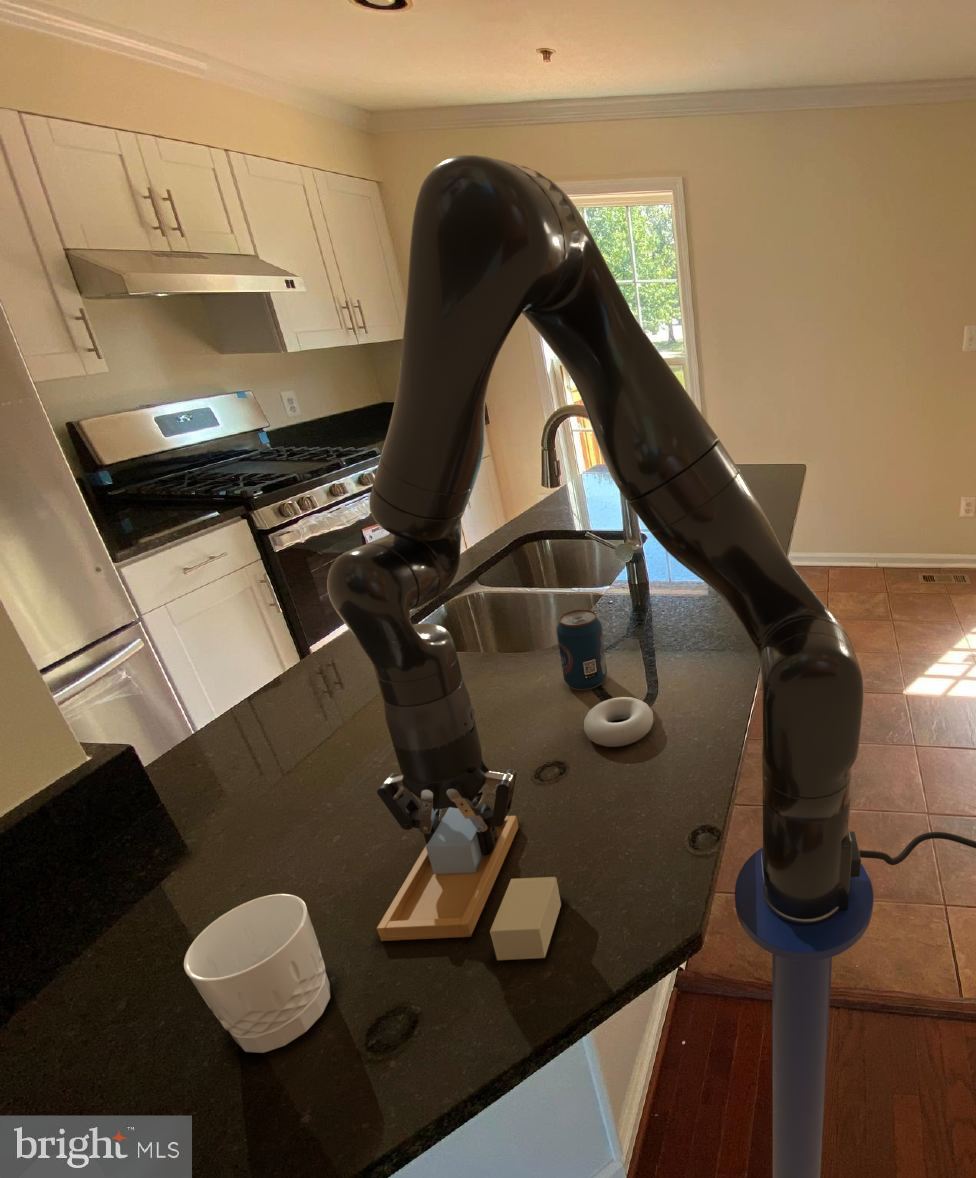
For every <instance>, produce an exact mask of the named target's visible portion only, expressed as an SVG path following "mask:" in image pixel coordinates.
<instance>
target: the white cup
mask: <svg viewBox="0 0 976 1178" xmlns="http://www.w3.org/2000/svg"><path fill="white" fill-rule="evenodd" d="M321 951H322V950H321V948H320V943H319V940H318V938H317V934H316V932H315V929H314V926H313V922H312V920H311V917H310V914H309V911H308V907H307V905H306V902H305V900H303V899H302V898H300V897H299V896H297V895H294V894H289V893H275V894H274V893H273V894H269V895H264V896H261V897H257V898H254V899H252V900H249V901H246V902H243V903H242V904H240V905H238V906H236V907H234V908H232V909H231V910H228V911H227V912H226V913H223V914H222V915H220V916H219V917H217V918H216V919H215V920H214V921H212V922H211V923H210V924H209V925H208V926H206V927H205V928H204V929H202V931H201V932H200V933H199V934H198V935H197V936H196V938H195V939H194V940H193V941H192V943H191V944H190V946H189V947H188V949H187V951H186V953H185V955H184V960H183V968H184V972H185V974H186V975H187V977H188V978H189V979H190V981H191V982H192V984H193V986H194V987H195V988H196V990H197V992H198V993H199V994H200V996H201V998H202V999H203V1001H204V1002H205V1004H206V1005H207V1006H208V1008H209V1010H211V1011H212V1013H213V1015H214V1016H215V1017H216V1019H217V1020H218V1021H219V1023H220V1024H221V1026H222V1027H223V1028H224V1030H225V1031H227V1032H229V1034H230V1035H231V1037H232V1038H233V1039H234V1041H235V1043H236V1045H238V1046H239V1047H240V1048H241V1049H242V1050H243V1051H244V1052H245V1053H258V1054H265V1053H267V1052H270V1051H273V1050H276V1049H279V1048H282V1047H285V1046H287V1045H288V1044H290V1043H291V1042H293V1041H295V1040H296V1039H297V1038H299V1037H301V1036H302V1035H304V1034H305V1033H306V1032H308V1031H309V1029H310V1028H312V1026H313V1025H314V1024H315V1023H316V1022H317V1021H318V1020H319V1019H320V1018H321V1017H322V1016H323V1014H324V1012H325V1010H326V1009H327V1008H326V1007H327V1006H328V1003H329V1002H330V1000H331V984H330V981H329V978H328V974H327V972H326V965H325V961H324V957H323V955H322V952H321Z"/></svg>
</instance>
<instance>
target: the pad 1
mask: <svg viewBox="0 0 976 1178" xmlns="http://www.w3.org/2000/svg"><path fill="white" fill-rule="evenodd" d="M441 819H442V821H441V822H440V824H439V826H438V827H437V829H436V831H435V832H434V834H433V836H432V837H431V839H430V841H429V842H428V844H426V845H427V846H426V845H425V846H426V849H427V852H428V856H429V859H430V863H431V866H432V870H433V873H434V874H454V873H476V872H477V870H478V868H479V865H480V863H481V861H482V859H483V857H484V855H482V854H481V849H480V845H479V841H478V837H477V833H476V832H477V829H476V827H475V826H474V824H473V823H472V821H471V820H470V819H469V818H468V819H466V818H465V817H464V816H463V814H462V813H461V811H460V810H459V808H451V807H448V808H447V810H446V812H445V814H444V816H443V817H442V818H441Z"/></svg>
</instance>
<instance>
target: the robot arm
mask: <svg viewBox="0 0 976 1178" xmlns="http://www.w3.org/2000/svg"><path fill="white" fill-rule="evenodd" d="M410 235H411V236H410V244H409V245H410V246H409V255H408V256H409V257H408V259H409V260H408V272H407V287H406V289H407V290H406V303H405V311H404V322H403V323H404V324H403V333H402V334H403V335H402V346H401V353H400V354H401V355H400V362H399V363H400V364H399V372H398V378H397V379H398V380H397V386H396V392H395V397H394V403H393V407H392V413H391V417H390V421H389V425H388V429H387V432H386V435H385V439H384V443H383V447H382V450H381V453H380V457H379V461H378V464H377V467H376V471H375V473H374V474H375V475H374V479H373V482H372V486H371V490H370V495H369V503H368V505H369V511H370V514H371V516H372V518H373V520H374V521H375V523H377V525H379V526H380V527H381V528H382V529H383V530H384V531H386V532H388V534H386V535H385V536H382V537H380V538H376V539H375V540H371V541H370V542H368V543H365V544H363V545H360V546H357V547H355V548H353V549H350V550H348V551H345V552H343V553H342V554H340V555H339V556H337V557H336V558H335V559H334V561H333V562H332V564H331V565H330V568H329V570H328V574H327V579H326V588H327V589H326V590H327V594H328V598H329V600H330V603H331V605H332V607H333V609H334V610H335V612H336V613H337V615H338V616H339V617H340V619H341V620H342V621H343V623H344V624H345V626H346V627H347V628H348V629H349V631H350V633H351V634H352V635H353V637H354V638H355V640H356V641H357V642H358V644H359V646H360V647H361V648H362V650H363V652H364V653H365V654H366V656H367V657H368V659H369V660H370V662H371V663H372V665H373V668H374V673H375V678H376V680H377V683H378V687H379V690H380V695H381V697H382V699H383V700H382V702H383V707H384V708H383V709H384V716H385V717H384V718H385V721H386V722H385V723H386V725H387V729H388V732H389V735H390V738H391V742H392V746H393V750H394V752H395V756H396V759H397V763H398V767H399V769H400V773H401V775H400V774H399V773H398V772H397V773H396V772H391V773H389V774H388V776H387V777H386V778H385V780H384V781H383V783H382V784H381V785H380V786H379V787H378V789H377V790H376V794H377V796H378V797H379V798H380V800H381V801H382V802H383V804H384V805H385V806H386V808H387V809H388V811H389V812H390V813H391V815H392V816H393V818H394V819H395V820H396V822H397V823H398V824H399V826H400V828H401V829H403V830H404V831H410V830H412V829H413V828H414V829H418V830H419V832H420V833H422V834H423V836H424V840H425V844H426V845H427V844H428V842H429V841H430V839H431V837H432V836H433V834H434V832H435V831H436V829H437V827H438V826H439V824H440V822H441V821H442V819H443V818H440V817H441V814H442V810H443V809H448V808H449V807H451V808H459V810H460V811H461V813H462V814H463V816H464V817H465V818H466V819H468V818H469V819H470V820H471V821H472V823H473V824H474V826H475V827H476V829H477V832H476V833H477V837H478V841H479V845H480V849H481V854H482V855H489V854H490V852H491V850H493V849H494V847H495V845H496V842H497V840H498V834H497V829H496V827H500V826H502V825H503V823H504V821H505V818H506V816H508V814H509V812H510V810H511V808H512V802H513V797H514V791H515V786H516V780H517V779H516V778H517V771H516V770H514V769H511V768H508V769H506V770H505V772H504V773H501V772H496V771H491V770H490V767H489V766H488V765H487V764H486V763H485V762H484V760H483V754H482V746H481V745H482V744H481V741H480V737H479V732H478V728H477V723H476V720H475V709H474V708H473V705H472V701H471V698H470V694H469V691H468V689H467V687H466V683H465V682H464V678H463V675H462V670H461V665H460V660H459V657H458V653H457V648H456V645H455V641H454V639H453V637H452V635H451V633H450V631H448V629H447V628H445V627H444V626H442V625H439V624H436V623H430V622H429V623H424V622H423V623H414V624H413V623H412V620H411V614H410V613H411V612H413V611H415V610H416V609H419V608H420V607H422V606H424V605H426V604H427V603H429V602H431V601H432V600H434V599H436V598H438V597H439V596H441V595H442V594H443V593H445V591H447V589H449V587H450V586H451V584H452V583H453V581H454V579H455V578H456V576H457V573H458V572H459V571H458V570H459V567H460V562H461V550H462V549H461V547H462V545H461V544H462V518H463V516H464V514H465V511H466V508H467V506H468V503H469V501H470V498H471V494H472V492H473V489H474V486H475V484H476V482H477V478H478V476H479V472H480V469H481V465H482V461H483V458H484V451H485V444H486V442H485V441H486V400H487V393H488V389H489V388H488V387H489V384H490V379H491V376H492V373H493V369H494V367H495V363H496V361H497V358H498V356H499V353H500V351H501V349H502V348H503V346H504V345H505V342H506V340H507V338H508V336H509V335H510V333H511V331H512V330H513V328H514V326H515V324H516V322H517V321H518V319H519V318H520V316H521V315H523V316H524V317H525V318H526V319H527V321H529V323H530V324H531V325H532V326H533V328H534V329H535V330H536V331H537V332H538V334H539V335H540V336H541V338H542V339H543V340H544V342H545V343H546V344H547V346H548V347H549V348H550V350H551V351H552V352H553V353H554V355H555V356H556V357H557V358H558V360H559V361H560V363H561V364H562V366H563V367H564V369H565V370H566V372H567V373H568V375H569V377H570V379H571V380H572V382H573V384H574V386H575V388H576V390H577V392H578V394H579V396H580V398H581V402H582V404H583V406H584V410H585V412H586V415H587V417H588V420H589V424H590V426H591V429H592V433H593V435H594V437H595V440H596V444H597V446H598V449H599V451H600V454H601V456H602V459H603V461H604V464H605V466H606V468H607V470H608V473H609V474H610V476H611V478H612V481H613V482H614V483H615V485H616V487H617V489H618V491H619V492H620V494H621V495H622V496H623V498H624V499H625V501H626V502H627V503H628V505H629V506H630V507H631V508H632V510H633V511H634V512H635V514H636V515H637V516H638V518H639V519H640V521H641V522H642V523H643V525H644V526H645V528H646V529H647V530H648V531H649V532H650V534H651V535H652V536H653V537H654V539H656V541H657V542H658V543H659V545H660V546H662V548H663V549H664V550H665V551H666V552H667V553H668V554H669V555H670V556H671V557H673V558H674V559H675V560H676V561H677V562H678V563H680V564H681V565H682V566H683V567H685V568H686V569H687V570H688V571H690V572H691V573H692V574H693V575H695V576H696V577H697V578H699V579H700V580H702V581H703V582H704V583H705V584H707V585H708V586H709V587H711V588H712V589H713V590H714V591H715V592H716V593H717V594H718V595H720V596H721V598H722V599H723V600H724V601H725V602H726V603H727V605H728V606H729V607H730V609H731V610H732V612H733V613H734V615H735V616H736V618H737V619H738V621H739V622H740V624H741V626H742V627H743V629H744V630H745V632H746V634H747V635H748V638H749V639H750V642H751V643H752V645H753V646H754V648H755V651H756V653H757V655H758V658H759V661H760V673H761V685H762V686H761V689H762V690H761V691H762V692H761V693H762V697H761V698H762V700H761V701H762V748H761V749H762V750H761V769H762V771H761V772H762V773H761V774H762V775H761V776H762V847H763V863H762V871H763V883H762V890H763V897H764V900H765V902H766V904H767V906H768V908H769V909H770V910H771V911H772V912H773V913H774V914H775V915H776V916H777V917H779V918H780V919H782V920H784V921H786V922H789V923H792V924H796V925H815V924H819V923H822V922H825V921H827V920H828V919H830V918H832V917H833V916H834V915H835V914H836V913H837V912H839V911H847V910H848V905H849V890H850V877H860V868H861V864H862V859H878V860H883V861H884V862H885V863H886V864H888V865H889V866H896V865H898V864H899V865H900V863H902V862H903V861H905V860H906V859H907V858H908V856H909V855H910V854H911V853H912V852H913V850H914V849H915V848H916V847H917V846H918V845H919V844H921V843H922V842H925V841H927V840H934V839H935V840H936V839H939V840H945V841H946V840H948V841H951V842H955V843H958V844H962V845H964V846H967V847H970V848H973V849H976V841H975V840H972V839H969V838H967V837H964V836H961V835H958V834H954V833H949V832H943V831H931V832H925V833H921V834H920V835H919V834H918V835H917V836H916V837H914V838H913V839H912V840H911V841H910V842H909V843H908V844H907V845H906V846H905V848H903V850H902V851H901V852H900V853H899V854H898V855H897V856H894V857H891V855H890V854H888V853H886V852H882V851H877V850H863V849H859V845H858V840H857V835H856V832H855V831H854V830H853V831H850V818H851V817H850V815H851V802H852V801H851V798H852V784H853V783H852V782H853V772H854V771H853V770H854V764H855V763H856V761H857V758H858V755H859V751H860V750H859V749H860V743H861V742H860V741H861V732H862V722H863V721H862V720H863V711H864V698H865V697H864V695H865V691H864V690H865V689H864V688H865V686H864V677H863V673H862V669H861V666H860V664H859V660H858V658H857V655H856V651H855V649H854V646H853V644H852V643H853V642H852V640H851V638H850V636H849V634H848V632H847V631H846V629H845V628H844V626H843V625H842V624H841V622H840V621H839V620H838V619H837V618H836V616H835V615H834V614H833V613H832V612H831V611H830V609H829V608H828V607H827V606H826V605H825V604H824V603H823V601H822V600H821V599H820V598H819V596H818V595H817V593H816V592H815V591H814V590H813V589H812V588H811V586H810V585H809V584H808V583H807V582H806V581H805V579H804V578H803V576H801V574H800V573H799V572H798V570H797V569H796V568H795V566H794V565H793V563H792V562H791V560H790V558H789V557H788V556H787V554H786V552H785V550H784V549H783V547H782V545H781V543H780V541H779V539H778V537H777V535H776V533H775V531H774V529H773V527H772V525H771V523H770V521H769V520H768V518H767V516H766V514H765V512H764V510H763V509H762V507H761V505H760V503H759V501H758V500H757V498H756V496H755V494H754V493H753V491H752V490H751V488H750V486H749V484H748V483H747V481H746V479H745V477H744V475H743V474H742V472H741V471H740V469H739V467H738V466H737V464H736V463H735V461H734V460H733V458H732V457H731V455H730V453H729V451H728V450H727V449H726V448H725V446H724V444H723V442H721V441H722V440H720V438H719V437H718V435H717V433H716V432H715V430H713V428H712V427H711V425H710V424H709V423H708V422H707V420H706V419H705V417H704V416H703V415H702V413H701V411H700V410H699V408H698V406H697V405H696V404H695V402H694V401H693V399H692V398H691V396H690V394H689V393H688V391H687V390H686V388H685V387H684V386H683V384H682V383H681V382H680V380H679V379H678V377H677V376H676V374H675V373H674V372H673V370H672V368H671V367H670V365H669V364H668V363H667V361H666V360H665V358H664V357H663V356H662V355H661V352H659V351H658V349H657V348H656V347H655V345H654V343H653V342H652V341H651V339H650V338H649V337H648V335H647V334H646V332H645V330H644V329H643V327H642V326H641V324H640V323H639V321H638V319H637V318H636V316H635V314H634V312H633V311H632V309H631V307H630V305H629V303H628V302H627V300H626V298H625V296H624V294H623V292H622V290H621V288H620V286H619V285H618V283H617V281H616V279H615V277H614V275H613V273H612V271H611V269H610V267H609V266H608V264H607V262H606V260H605V258H604V256H603V254H602V252H601V251H600V248H599V246H598V243H596V241H595V239H594V237H593V235H592V233H591V231H590V229H589V228H588V225H587V223H586V222H585V220H584V218H583V216H582V214H581V213H580V211H579V209H578V208H577V207H576V205H575V204H574V202H573V201H572V199H571V198H570V197H569V195H568V194H567V193H565V191H564V190H563V189H561V188H560V186H559V185H558V184H557V183H556V182H554V181H553V180H552V179H550V178H549V177H548V176H545V174H543V173H542V172H540V171H537V170H535V169H532V168H530V167H527V166H524V165H521V164H517V163H513V162H509V161H506V160H503V159H502V160H501V159H498V158H494V157H489V156H484V155H473V154H461V155H457V156H453V157H449V158H446V159H445V160H443V161H441V162H440V163H438V164H436V165H435V166H434V167H433V168H432V170H430V171H429V173H428V174H427V175H426V176H425V178H424V180H423V182H422V184H421V185H420V187H419V190H418V193H417V197H416V201H415V205H414V211H413V216H412V225H411V233H410ZM485 785H488V786H489V787H490V791H491V796H493V797H495V798H494V806H493V805H492V803H491V802H490V800H489V795H488V792H487V790H486V789H485V787H484V786H485ZM417 798H418V799H419V801H420V802H418V800H417ZM761 861H762V853H761Z"/></svg>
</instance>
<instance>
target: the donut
mask: <svg viewBox="0 0 976 1178" xmlns="http://www.w3.org/2000/svg"><path fill="white" fill-rule="evenodd" d="M620 720H623V721H620ZM615 721H619V722H615ZM653 724H654V713H653V709H651V707H650V706H649V705H648V704H647V703H646V702H645V701H643V700H641V699H638V698H635V697H632V696H631V697H630V696H629V697H628V696H619V697H618V696H617V697H612V698H609V699H606V700H603V701H601V702H599V703H597V704H595V706H593V707H592V708H591V709H589V711H588V712H587V713H586V715H585V718H584V720H583V731H584V733H585V736H586V737H587V738H588V739H589V740H590V741H591V742H593V743H594V744H596V745H598V746H602V747H605V748H607V747H608V748H618V747H625V746H629V745H631V744H633V743H637V742H638V741H640V740H641V739H643V738H644V737H645V736H646V735H647V734H648V733H649V732H650V730H651V729H652V727H653Z"/></svg>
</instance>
